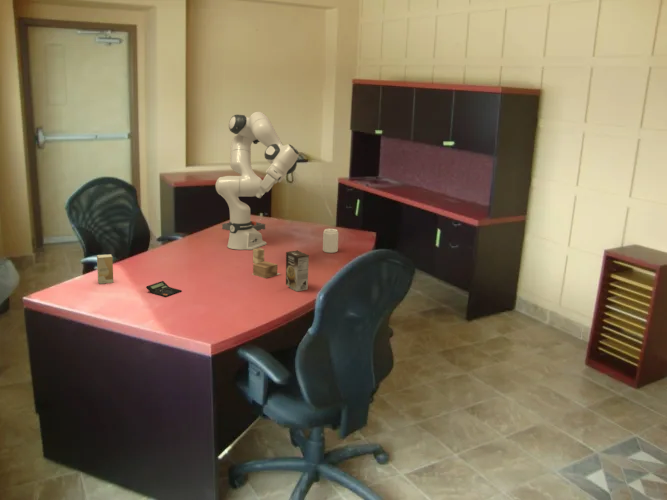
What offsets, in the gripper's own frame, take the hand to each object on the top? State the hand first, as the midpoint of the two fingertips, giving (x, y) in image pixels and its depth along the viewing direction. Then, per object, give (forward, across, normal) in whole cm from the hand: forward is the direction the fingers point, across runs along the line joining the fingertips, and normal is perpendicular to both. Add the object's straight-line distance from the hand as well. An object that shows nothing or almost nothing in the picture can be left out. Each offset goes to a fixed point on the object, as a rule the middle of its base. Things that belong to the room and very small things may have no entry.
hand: (257, 197), depth 309 cm
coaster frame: (+23, -80, -1) cm, 83 cm away
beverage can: (+1, -32, +46) cm, 57 cm away
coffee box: (+22, +29, +40) cm, 54 cm away
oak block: (+27, -5, +20) cm, 34 cm away
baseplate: (+27, +12, +26) cm, 39 cm away
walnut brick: (+27, +13, +25) cm, 39 cm away
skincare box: (+70, +25, -30) cm, 81 cm away
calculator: (+56, +37, -5) cm, 68 cm away
